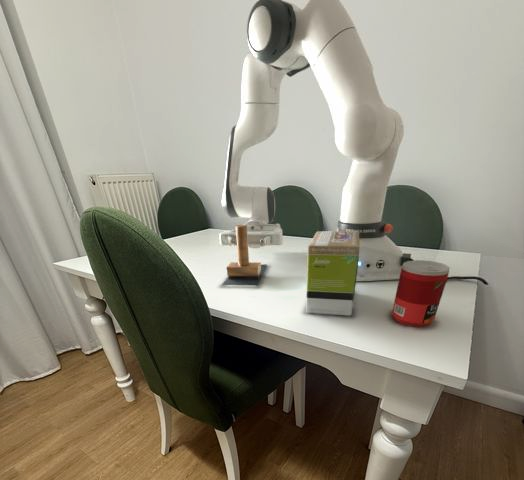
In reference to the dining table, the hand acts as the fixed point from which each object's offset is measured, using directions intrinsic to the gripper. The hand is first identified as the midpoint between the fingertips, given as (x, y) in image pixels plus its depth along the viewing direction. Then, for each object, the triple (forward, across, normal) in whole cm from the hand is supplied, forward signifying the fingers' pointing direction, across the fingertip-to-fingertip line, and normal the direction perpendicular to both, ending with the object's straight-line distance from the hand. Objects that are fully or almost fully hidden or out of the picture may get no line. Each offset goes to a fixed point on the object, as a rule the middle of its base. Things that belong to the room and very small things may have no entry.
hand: (247, 243), depth 86 cm
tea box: (+23, +24, +9) cm, 34 cm away
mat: (+4, 0, +9) cm, 9 cm away
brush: (+6, 0, +8) cm, 10 cm away
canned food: (+31, +40, +9) cm, 51 cm away
